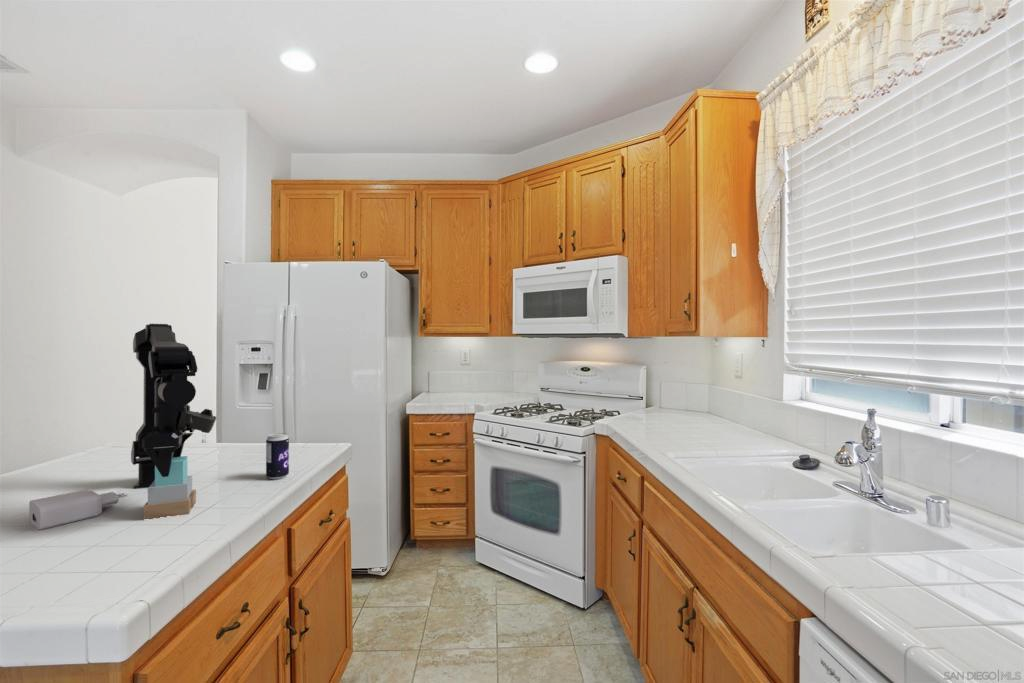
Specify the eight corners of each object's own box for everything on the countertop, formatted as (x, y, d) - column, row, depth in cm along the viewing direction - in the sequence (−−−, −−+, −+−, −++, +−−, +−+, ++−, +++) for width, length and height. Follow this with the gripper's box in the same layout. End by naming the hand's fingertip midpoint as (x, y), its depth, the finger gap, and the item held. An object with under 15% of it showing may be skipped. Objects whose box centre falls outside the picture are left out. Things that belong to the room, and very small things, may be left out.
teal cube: (160, 480, 103) (160, 458, 103) (187, 477, 106) (187, 456, 105) (155, 486, 99) (155, 463, 99) (182, 483, 101) (182, 461, 101)
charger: (133, 509, 104) (40, 531, 91) (118, 501, 109) (28, 521, 96) (133, 488, 104) (40, 508, 91) (118, 481, 109) (28, 499, 96)
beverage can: (279, 481, 124) (279, 437, 124) (261, 479, 125) (261, 436, 125) (293, 475, 130) (293, 433, 130) (275, 473, 131) (276, 432, 131)
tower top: (154, 495, 104) (155, 479, 104) (192, 490, 107) (192, 475, 107) (147, 504, 98) (147, 488, 98) (187, 499, 101) (187, 483, 101)
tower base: (153, 509, 104) (153, 494, 104) (195, 504, 108) (195, 489, 108) (143, 522, 97) (143, 505, 97) (188, 516, 100) (188, 500, 100)
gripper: (206, 405, 97) (206, 477, 97) (219, 395, 114) (218, 457, 114) (141, 408, 92) (141, 484, 92) (164, 397, 109) (164, 462, 109)
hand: (170, 471), depth 102 cm, fingers open, 9 cm apart
